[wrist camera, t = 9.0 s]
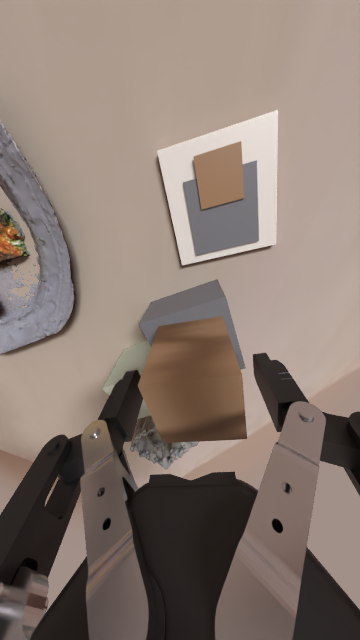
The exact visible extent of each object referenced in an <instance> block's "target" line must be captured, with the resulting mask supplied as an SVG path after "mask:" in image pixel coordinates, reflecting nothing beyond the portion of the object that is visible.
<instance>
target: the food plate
mask: <svg viewBox="0 0 360 640" xmlns="http://www.w3.org/2000/svg"><path fill="white" fill-rule="evenodd" d="M24 158H25V157H24V156H23V155H22V154H21V151H20V150H19V148H17V146H16V143H15V142H14V141H13V138H12V137H11V135H10V134H9V133H7V131H6V130H5V127H4V125H3V123H1V121H0V186H1V188H2V189H3V191H4V192H5V194H6V195H7V197H8V198H9V199H10V201H11V202H12V203H13V206H14V207H15V208H16V210H17V211H18V213H19V214H20V216H21V218H22V219H23V221H25V223H26V224H27V226H28V227H29V230H30V232H31V236H32V238H33V240H34V242H35V245H36V246H34V247H35V250H36V251H37V253H38V255H39V256H38V257H37V262H38V264H39V265H40V273H38V275H39V276H37V274H35V276H36V277H37V278H38V279H39V282H38V285H37V284H36V283H35V284H33V285H31V287H30V291H29V293H30V294H35V296H34V297H33V296H31V295H28V293H26V294H25V295H26V296H30V298H29V300H28V301H26V296H25V297H22V296H20V297H18V295H14V294H13V293H12V292H11V291H9V290H8V289H12V288H14V287H18V288H21V287H22V286H25V285H26V284H25V283H21V282H20V280H21V279H20V278H19V277H18V280H15V281H13V280H12V279H13V277H12V275H13V273H11V272H10V271H13V269H12V266H11V265H9V264H7V262H11V260H12V259H13V258H18V257H20V256H25V257H26V256H30V255H31V254H30V253H29V252H27V250H26V246H25V244H24V241H23V240H24V238H25V235H24V233H23V232H22V229H21V228H20V226H19V223H18V222H16V221H14V220H13V217H12V216H11V214H10V213H9V212H6V211H4V210H3V209H1V208H0V354H2V353H6V352H8V351H11V350H14V349H16V348H19V347H22V346H24V345H27V344H29V343H32V342H36V341H38V340H40V339H42V338H45V336H47V335H48V336H50V334H52V335H53V333H54V334H56V333H58V332H59V331H61V329H62V328H63V326H64V325H65V324H66V322H67V320H68V319H69V317H70V314H71V312H72V309H73V302H74V298H75V297H74V295H73V293H74V292H73V291H74V289H73V286H74V285H73V283H72V281H71V277H70V276H71V271H70V269H71V268H70V263H69V262H70V257H69V255H68V249H67V244H66V242H65V241H64V238H63V235H62V231H61V229H60V226H59V224H58V222H57V221H58V220H57V218H56V216H55V215H56V214H55V212H54V210H53V208H52V206H51V204H50V203H49V201H48V199H47V197H46V195H45V193H44V192H43V190H42V188H41V186H40V184H39V182H38V180H37V178H36V177H35V176H36V175H35V176H34V175H33V172H32V171H31V170H30V168H29V167H30V166H29V165H28V164H27V162H26V161H25V160H26V158H25V159H24ZM54 214H55V215H54ZM4 261H5V262H4ZM15 266H16V267H17V264H15ZM15 266H14V267H15ZM33 266H35V264H33ZM18 268H19V267H18ZM16 271H18V269H17V270H16ZM16 271H15V272H16ZM29 272H30V271H29ZM20 273H21V272H20ZM21 274H22V275H24V274H23V273H21ZM31 276H32V275H31ZM22 280H24V279H23V278H22ZM28 281H29V280H28ZM32 286H33V287H32ZM17 291H18V290H17ZM10 296H11V297H12V298H13V300H12V301H11V300H10V299H9V297H10ZM17 297H18V298H19V299H17ZM21 297H22V298H21ZM8 301H9V302H8ZM17 302H19V303H17ZM22 302H24V303H22ZM25 304H27V307H24V308H21V306H25ZM8 305H9V306H8ZM17 308H18V309H17ZM7 314H8V315H7Z"/></svg>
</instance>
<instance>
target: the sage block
mask: <svg viewBox="0 0 360 640" xmlns="http://www.w3.org/2000/svg"><path fill="white" fill-rule="evenodd" d="M150 349H151V346H150V344H149V342H148V341H147V340H145V341H142V342H140V343H138V344H135V345H133V346H131V347H129V348H126V349H124V351H123V353H122V355H121V356H120V358H119V360H118V362H117V363H116V365H115V367H114V369H113V371H112V372H111V374H110V376H109V378H108V380H107V381H106V383H105V385H104V387H103V388H102V389H103V390H104V391H105V392H106V393H107V394H108V395H109V396H110V394H111V392H112V389H113V387H114V385H115V384H116V383H117V382H118V381H119V380H120V379H123V376H124V374H125V372H126V371H132V370H138V372H139V374H140V376H141V375H142V372H143V369H144V367H145V364H146V361H147V358H148V355H149V352H150ZM150 415H151V414H150V412H149V410H148V408H147V406H146V403H145V401H144V399H143V401H142V405H141V408H140V412H139V415H138V419H140V418H144V417H147V416H150Z"/></svg>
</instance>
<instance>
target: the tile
mask: <svg viewBox="0 0 360 640" xmlns="http://www.w3.org/2000/svg"><path fill="white" fill-rule="evenodd" d="M277 142H278V110H276V111H273V112H270V113H267V114H264V115H261V116H258V117H255V118H252V119H249V120H247V121H244V122H241V123H238V124H235V125H232V126H229V127H226V128H223V129H220V130H217V131H214V132H211V133H208V134H205V135H202V136H199V137H196V138H194V139H191V140H188V141H185V142H182V143H179V144H176V145H173V146H170V147H167V148H164V149H161V150H158V151H157V153H158V157H159V162H160V167H161V171H162V176H163V180H164V185H165V190H166V194H167V199H168V203H169V208H170V212H171V217H172V222H173V226H174V231H175V235H176V240H177V245H178V249H179V254H180V258H181V263H182V265H186V264H191V263H195V262H200V261H204V260H209V259H213V258H217V257H222V256H226V255H231V254H235V253H240V252H244V251H248V250H253V249H257V248H262V247H266V246H271V245H275V244H276V218H277Z"/></svg>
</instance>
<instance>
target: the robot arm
mask: <svg viewBox="0 0 360 640" xmlns="http://www.w3.org/2000/svg"><path fill="white" fill-rule="evenodd" d="M253 365H254V376H255V379H256V382H257V385H258V387H259V389H260V392H261V394H262V397H263V399H264V401H265V404H266V406H267V409H268V411H269V413H270V416H271V418H272V421H273V423H274V426H275V428H276V430H277V432H281V434H280V437H279V440H278V442H277V443H275V445H274V447H273V450H272V453H271V456H270V459H269V462H268V464H267V467H266V470H265V473H264V476H263V479H262V482H261V485H260V488H259V491H258V490H257V489H255V488H254V487H253V486H251V485H249V484H248V483H245V482H244V481H241V480H238V479H236V477H235V472H219V473H218V472H217V473H210V474H208V475H205V476H202V477H200V478H197V479H194V480H187V479H183V478H180V477H177V476H174V475H171V474H162V475H150V479H149V483H147V484H145V485H143V486H142V487H140V488H139V489H138V487H137V485H136V483H135V481H134V478H133V476H132V473H131V470H130V467H129V464H128V461H127V458H126V455H125V452H124V449H123V444H124V442H128V441H131V440H132V436H133V433H134V429H135V426H136V422H137V419H138V415H139V412H140V408H141V405H142V401H143V397H142V394H141V392H140V390H139V388H138V384H139V381H140V378H141V376H140V374H139V372H138V370H132V371H126V372H125V374H124V376H123V379H120V380H119V381H118V382H117V383H116V384H115V385H114V387H113V389H112V392H111V394H110V396H109V399H108V400H107V402H106V404H105V406H104V408H103V410H102V412H101V414H100V416H99V418H98V420H97V421H94V422H93V423H91V424H90V425H89V426H88V427H87V428H86V429H85V430H84V432H83V434H80V435H78V436H75V437H73V438H70V439H68V438H67V437H66V436H65V435H58V436H56V437H54V438H53V439H51V440H50V441H49V442H48V443H47V444H46V445H45V446H44V447H43V448H42V450H41V452H40V453H39V455H38V456H37V458H36V459H35V461H34V463H33V464H32V466H31V468H30V469H29V471H28V472H27V474H26V475H25V477H24V478H23V480H22V482H21V483H20V485H19V486H18V488H17V490H16V491H15V493H14V495H13V496H12V497H11V499H10V501H9V502H8V504H7V505H6V507H5V509H4V510H3V512H2V513H1V515H0V640H360V610H359V608H358V607H357V606H356V605H355V604H354V603H353V601H352V600H351V599H350V598H349V597H348V595H347V594H346V593H345V592H344V591H343V589H342V588H341V587H340V586H339V585H338V583H337V582H336V581H335V580H334V579H333V577H332V576H331V575H330V574H329V573H328V572H327V570H326V569H325V568H324V567H323V566H322V564H321V563H320V562H319V561H318V560H317V558H316V557H315V556H314V555H313V554H312V552H311V551H310V550H309V549H308V548H307V541H308V535H309V528H310V522H311V516H312V509H313V503H314V496H315V490H316V484H317V477H318V471H319V461H324V462H327V463H330V464H334V465H337V466H341V467H344V469H345V471H346V472H347V474H348V476H349V478H350V480H351V481H352V483H353V485H354V486H355V488H356V490H357V492H358V494H359V495H360V412H355V413H352V414H351V415H350V417H349V418H347V417H342V416H336V415H331V414H327V413H324V412H322V411H321V410H320V409H318V408H317V407H316V406H314V405H312V404H310V403H309V402H308V400H307V399H306V397H305V396H304V394H303V393H302V391H301V390H300V388H299V387H298V385H297V384H296V382H295V381H294V379H292V376H291V375H290V373H289V372H288V370H287V369H286V367H285V366H284V365H283V364H282V363H280V362H279V361H278V360H270V359H269V357H268V355H267V354H266V353H260V354H253ZM57 477H58V478H59V480H58V481H57V484H56V486H55V488H54V490H53V492H52V494H51V496H50V498H49V500H48V502H47V504H46V506H45V501H46V498H47V496H48V494H49V492H50V490H51V488H52V486H53V484H54V482H55V480H56V478H57ZM80 492H81V496H82V507H83V517H84V529H85V540H86V550H87V557H86V558H85V560H84V561H83V563H82V564H81V565H80V567H79V568H78V569H77V571H76V572H75V573H74V575H73V576H72V577H71V579H70V580H69V582H68V583H67V584H66V586H65V587H64V589H63V590H62V591H61V593H60V594H59V595H58V597H57V598H56V600H55V601H54V602H53V604H52V605H51V606H50V608H49V609H48V611H47V612H46V610H47V607H48V597H47V595H48V588H49V587H48V586H49V585H48V576H49V574H50V571H51V568H52V565H53V563H54V560H55V558H56V555H57V552H58V550H59V547H60V545H61V542H62V539H63V537H64V534H65V531H66V529H67V526H68V524H69V521H70V518H71V515H72V513H73V510H74V508H75V505H76V503H77V500H78V497H79V495H80Z"/></svg>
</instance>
